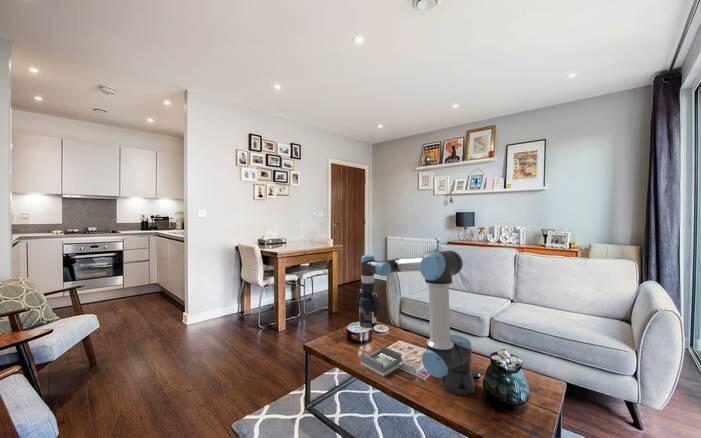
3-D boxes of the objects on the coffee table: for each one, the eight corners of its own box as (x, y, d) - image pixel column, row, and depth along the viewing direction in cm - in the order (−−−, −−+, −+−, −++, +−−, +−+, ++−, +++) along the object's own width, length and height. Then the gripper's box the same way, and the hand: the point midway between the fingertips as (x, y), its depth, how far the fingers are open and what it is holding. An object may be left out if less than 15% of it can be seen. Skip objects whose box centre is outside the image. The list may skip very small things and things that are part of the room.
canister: (376, 329, 165) (376, 298, 165) (359, 329, 165) (359, 298, 165) (375, 323, 175) (375, 293, 174) (359, 323, 175) (359, 293, 175)
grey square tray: (402, 364, 157) (402, 354, 157) (383, 376, 146) (383, 365, 146) (380, 354, 169) (380, 344, 169) (360, 364, 158) (360, 354, 158)
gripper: (386, 284, 164) (386, 323, 165) (358, 277, 180) (358, 313, 181) (377, 286, 159) (377, 327, 159) (350, 279, 175) (349, 316, 176)
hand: (367, 320), depth 170 cm, fingers closed on canister, 9 cm apart
